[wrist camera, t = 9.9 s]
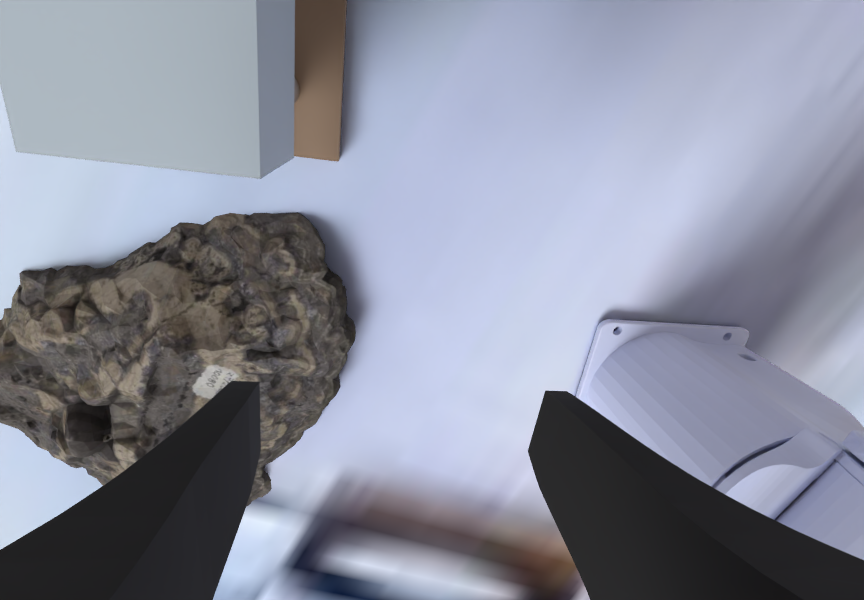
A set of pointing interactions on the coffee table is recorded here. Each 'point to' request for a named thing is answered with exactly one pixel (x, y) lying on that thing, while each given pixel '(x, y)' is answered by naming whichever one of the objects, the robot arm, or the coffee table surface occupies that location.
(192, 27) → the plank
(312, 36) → the peg stand
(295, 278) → the geode
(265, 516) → the coffee table surface
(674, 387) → the robot arm
